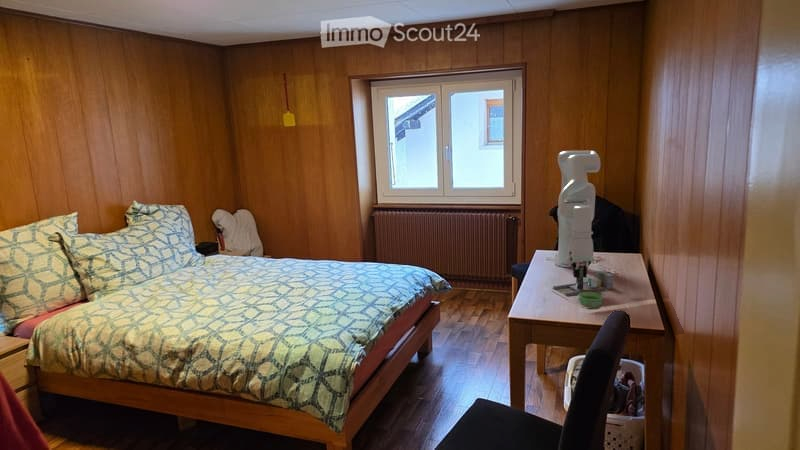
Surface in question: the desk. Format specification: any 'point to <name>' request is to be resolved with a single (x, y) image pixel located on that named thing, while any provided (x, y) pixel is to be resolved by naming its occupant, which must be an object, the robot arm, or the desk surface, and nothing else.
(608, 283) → the press frame
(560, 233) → the robot arm
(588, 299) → the ramekin
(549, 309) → the desk surface
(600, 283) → the beige rounded dome
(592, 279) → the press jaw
